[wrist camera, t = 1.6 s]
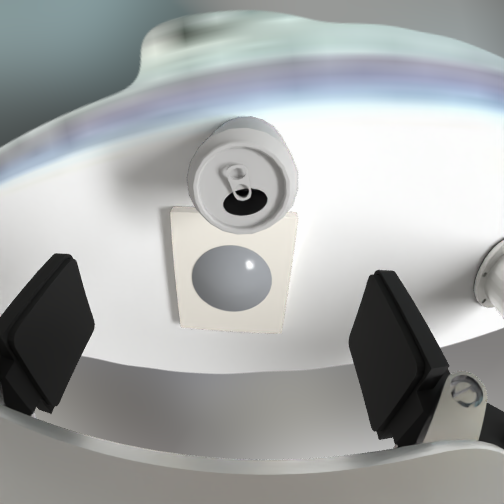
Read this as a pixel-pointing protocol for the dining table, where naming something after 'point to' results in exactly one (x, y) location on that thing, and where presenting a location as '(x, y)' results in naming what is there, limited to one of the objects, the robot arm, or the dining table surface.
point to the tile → (231, 273)
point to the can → (243, 177)
